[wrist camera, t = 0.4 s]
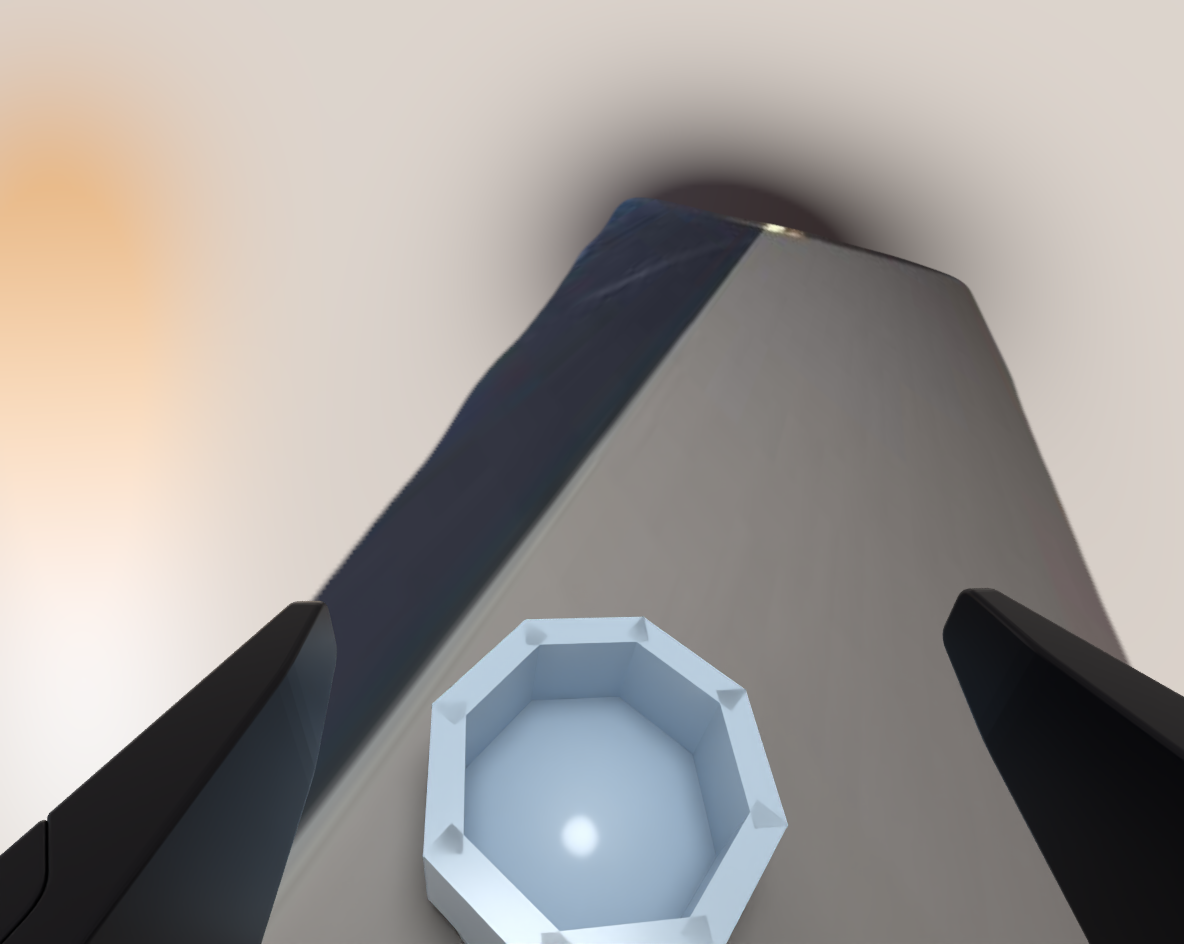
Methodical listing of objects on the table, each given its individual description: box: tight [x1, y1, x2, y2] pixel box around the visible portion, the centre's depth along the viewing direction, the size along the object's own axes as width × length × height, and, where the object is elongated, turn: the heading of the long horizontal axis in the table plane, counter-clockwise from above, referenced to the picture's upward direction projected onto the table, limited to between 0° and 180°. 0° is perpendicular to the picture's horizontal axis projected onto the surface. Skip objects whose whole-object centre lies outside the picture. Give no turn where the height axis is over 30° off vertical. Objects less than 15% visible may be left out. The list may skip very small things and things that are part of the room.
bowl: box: [423, 616, 788, 944], centre depth 21 cm, size 10×10×4 cm
